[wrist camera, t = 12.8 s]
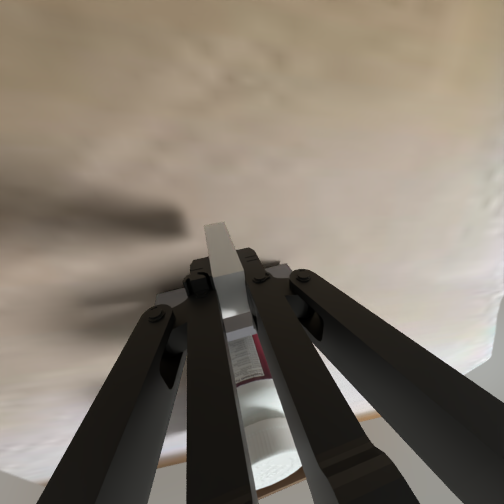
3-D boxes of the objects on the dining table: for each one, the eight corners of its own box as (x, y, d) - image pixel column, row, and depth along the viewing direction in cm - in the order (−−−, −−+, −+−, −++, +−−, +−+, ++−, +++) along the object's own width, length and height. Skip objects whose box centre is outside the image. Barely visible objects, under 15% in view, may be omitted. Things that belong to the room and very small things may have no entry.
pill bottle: (268, 332, 24) (321, 463, 14) (218, 355, 24) (239, 504, 14) (252, 296, 21) (307, 434, 11) (194, 321, 20) (199, 487, 11)
